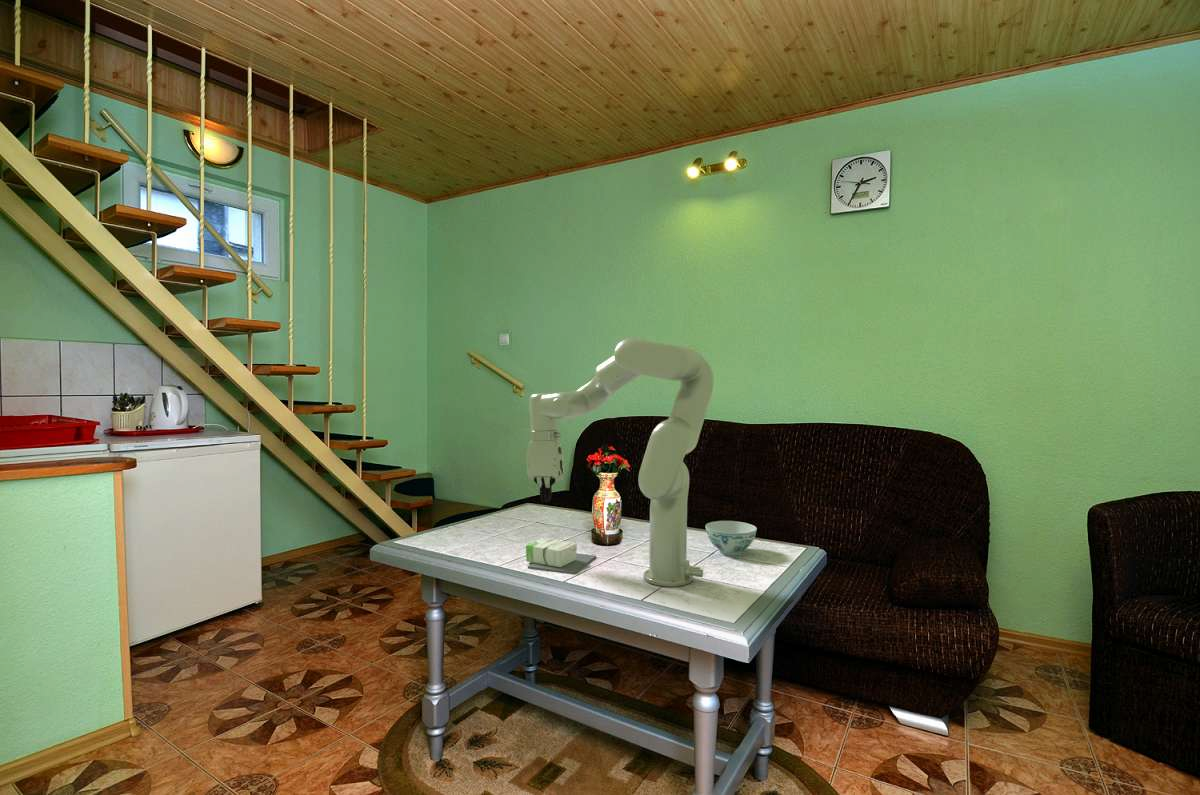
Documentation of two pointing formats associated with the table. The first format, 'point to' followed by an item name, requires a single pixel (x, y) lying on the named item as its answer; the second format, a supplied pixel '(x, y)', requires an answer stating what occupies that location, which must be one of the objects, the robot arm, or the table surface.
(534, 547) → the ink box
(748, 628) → the table surface
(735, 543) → the chinaware
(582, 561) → the slate mat
